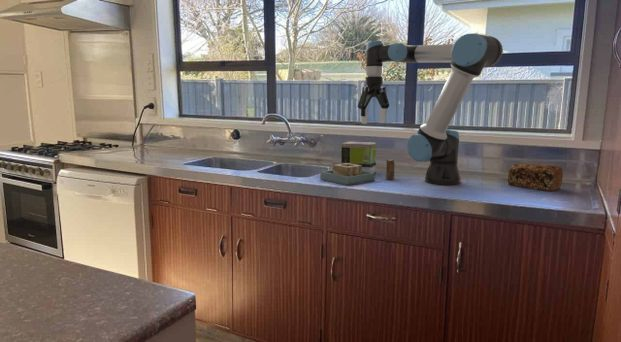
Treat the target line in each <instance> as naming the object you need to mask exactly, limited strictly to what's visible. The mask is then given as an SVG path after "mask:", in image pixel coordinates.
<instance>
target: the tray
mask: <svg viewBox="0 0 621 342" xmlns="http://www.w3.org/2000/svg"><path fill="white" fill-rule="evenodd" d="M375 174H376V172H374V173H371V172H366V171H362V175H357V176H351V177H346V176H341V175H336V174H333V169H332V170H331V169H330V170H322V171H320V180H322V181H326V182H329V183H334V184H338V183H339V185H344V186H347V187H348V186H353V185H359V184H365V183H371V182H375Z"/></svg>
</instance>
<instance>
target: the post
mask: <svg viewBox="0 0 621 342" xmlns="http://www.w3.org/2000/svg"><path fill="white" fill-rule="evenodd" d="M385 172H386V175H385V178H386V180H389V181H390V180H394V179H395V159H386V171H385Z"/></svg>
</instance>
